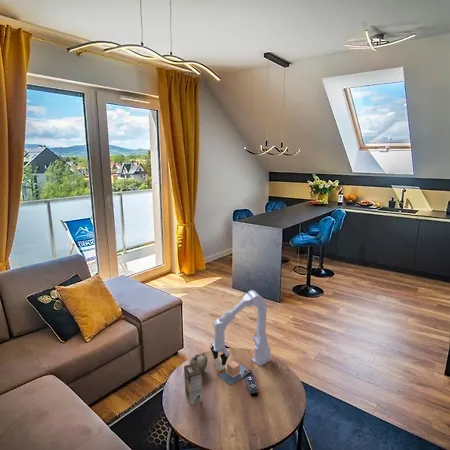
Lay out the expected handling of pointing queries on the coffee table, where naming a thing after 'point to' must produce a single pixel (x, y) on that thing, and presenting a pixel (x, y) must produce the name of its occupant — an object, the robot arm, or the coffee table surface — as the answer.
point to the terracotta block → (233, 368)
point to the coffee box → (193, 383)
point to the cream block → (219, 364)
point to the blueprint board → (233, 379)
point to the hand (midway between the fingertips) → (219, 361)
